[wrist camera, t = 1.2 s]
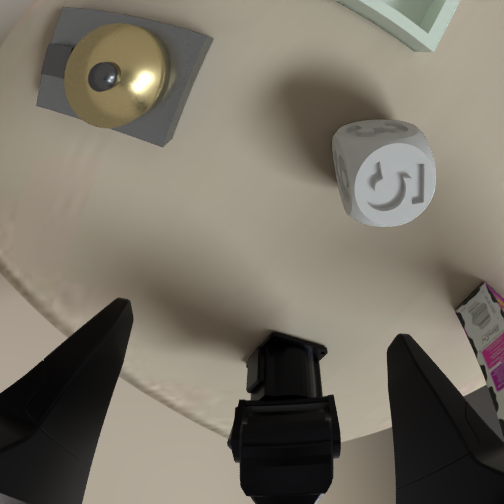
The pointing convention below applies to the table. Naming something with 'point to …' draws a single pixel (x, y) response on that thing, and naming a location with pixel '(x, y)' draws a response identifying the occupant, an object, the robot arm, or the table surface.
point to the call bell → (121, 72)
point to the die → (383, 171)
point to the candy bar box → (487, 339)
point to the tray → (408, 19)
